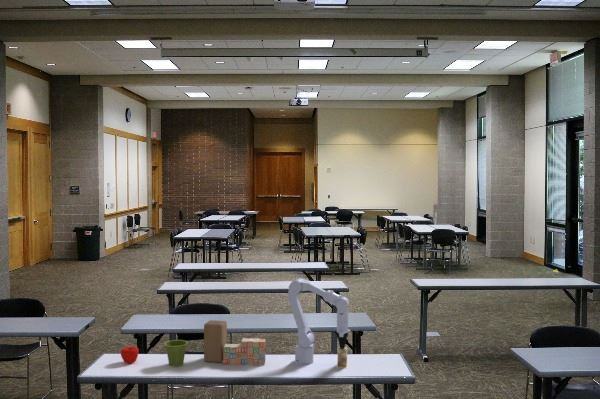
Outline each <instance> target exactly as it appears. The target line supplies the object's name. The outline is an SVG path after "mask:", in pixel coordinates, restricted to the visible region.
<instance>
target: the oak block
mask: <svg viewBox="0 0 600 399" xmlns="http://www.w3.org/2000/svg"><path fill="white" fill-rule="evenodd" d="M337 363H338V367H337V368H339V367H347V364H348V357H347V358H338V357H337Z"/></svg>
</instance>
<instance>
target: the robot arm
mask: <svg viewBox="0 0 600 399" xmlns="http://www.w3.org/2000/svg"><path fill="white" fill-rule="evenodd" d="M306 291H310V292H312V293H313V294H316V295H317V296H321V297H322V299H323V300H324V301H325V302H326V303H329V304H331V305H333V306H335V308H336V310H337V311H336V338H337V340H338V343H339V347H340V348H343V349H344V347H346V343H347V338H348V336H349V332H350V333H351V329H349V305H350V300H349V298H348V297H347V296H342V294H340V295H339V294H337V293H336V292H334V290H332V289H331V290H330V289H328V290H325V289H323V288H321V287H319V286H318V285H316V284H315V283H313V282H312V281H309V280H308V279H305V278H304V277H298V278H296V279H294V280H292V281H291V282H290V284H289V285H288V292H287V300H288V303H289V306H290V310H291V312H292V315H293V318H294V321H295V324H296V327H297V337H298V345H296V346H295V350H294V355H295V356H294V357H295V358H294V364H295V365H309V364H313V363H314V344H313V343H314V341H315V334H314V333H313V331H312V330H311V327H309V326H308V324H307V323H308V322H307V321H306V316H305V314H304V311H303V308H302V305H301V303H300V299H299V297H300V295H301V293H302V292H306Z"/></svg>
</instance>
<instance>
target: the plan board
mask: <svg viewBox="0 0 600 399" xmlns="http://www.w3.org/2000/svg"><path fill="white" fill-rule="evenodd" d="M349 367H350V364H349V363H347V367H338V362H336V365H335V368H342V369H343V368H345V369H349Z"/></svg>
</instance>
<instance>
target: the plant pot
mask: <svg viewBox="0 0 600 399" xmlns="http://www.w3.org/2000/svg"><path fill="white" fill-rule="evenodd" d="M188 343H189V342H188V340H183V339H172V340H169V341H165V342H164V346H165V349H166V353H167V360H168V365H169V366H171V367H179V366H183V364H184V362H185V356H186V355H185V354H186V350H187V346H188V345H187V344H188Z"/></svg>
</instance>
